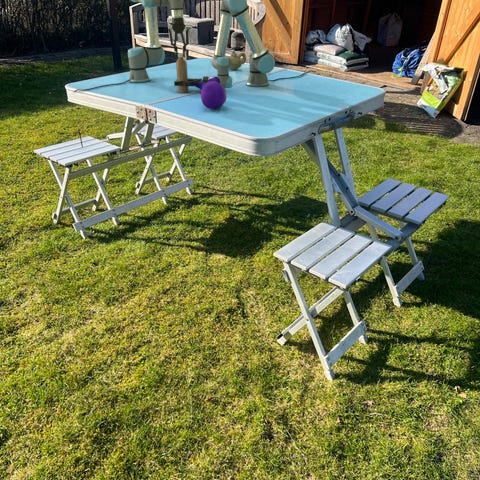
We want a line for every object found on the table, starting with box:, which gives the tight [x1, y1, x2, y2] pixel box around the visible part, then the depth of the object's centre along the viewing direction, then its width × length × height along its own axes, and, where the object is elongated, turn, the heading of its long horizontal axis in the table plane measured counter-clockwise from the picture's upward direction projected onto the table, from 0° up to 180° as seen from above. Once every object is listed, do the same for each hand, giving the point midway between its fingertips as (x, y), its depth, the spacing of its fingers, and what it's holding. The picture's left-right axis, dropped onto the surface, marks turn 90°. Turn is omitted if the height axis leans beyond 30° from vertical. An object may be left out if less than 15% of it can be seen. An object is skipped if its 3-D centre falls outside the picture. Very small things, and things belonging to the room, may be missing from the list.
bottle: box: [175, 57, 190, 94], centre depth 299 cm, size 7×7×24 cm
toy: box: [189, 77, 227, 111], centre depth 263 cm, size 16×18×27 cm
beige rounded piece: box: [226, 50, 247, 71], centre depth 368 cm, size 21×12×15 cm, turn 120°
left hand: (180, 56), depth 294 cm, fingers closed on cap, 4 cm apart
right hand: (175, 82), depth 303 cm, fingers closed on bottle, 7 cm apart
